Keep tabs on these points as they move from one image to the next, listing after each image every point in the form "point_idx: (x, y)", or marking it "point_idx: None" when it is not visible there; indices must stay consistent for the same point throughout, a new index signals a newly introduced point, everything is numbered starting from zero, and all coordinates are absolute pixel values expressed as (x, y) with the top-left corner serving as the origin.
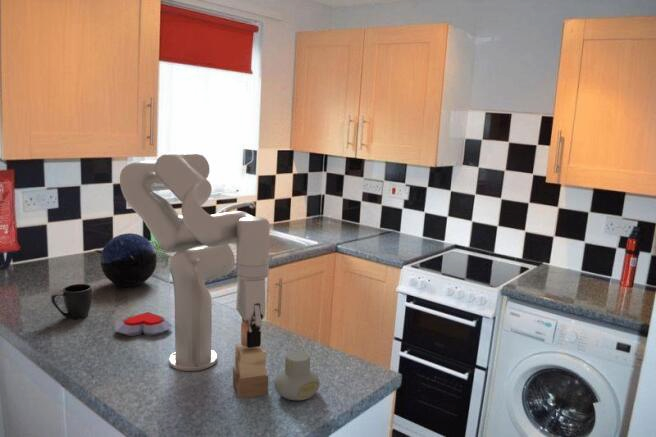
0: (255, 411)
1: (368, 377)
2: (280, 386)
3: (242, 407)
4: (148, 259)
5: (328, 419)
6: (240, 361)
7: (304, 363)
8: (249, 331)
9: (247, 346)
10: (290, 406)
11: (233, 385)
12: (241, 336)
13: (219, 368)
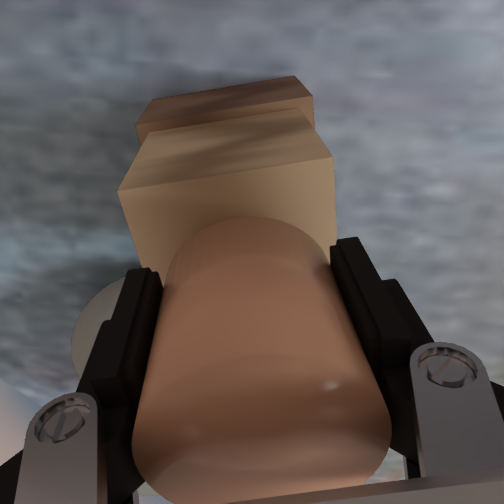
0: (40, 163)
1: None
2: (105, 303)
3: (71, 108)
4: None
5: (8, 382)
6: (147, 165)
7: None
8: (83, 404)
9: (129, 273)
10: (86, 292)
11: (280, 78)
12: (230, 260)
13: (495, 7)
